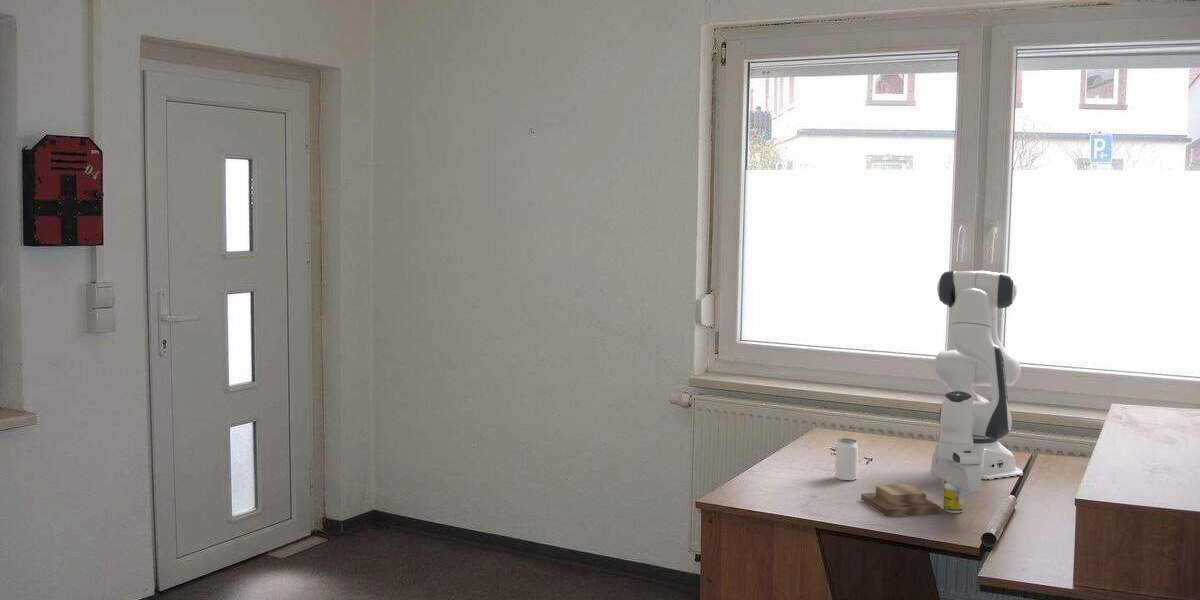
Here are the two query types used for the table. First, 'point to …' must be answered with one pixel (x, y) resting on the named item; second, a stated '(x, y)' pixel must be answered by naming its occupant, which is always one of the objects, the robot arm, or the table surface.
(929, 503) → the plinth
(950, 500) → the supplement bottle
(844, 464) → the can
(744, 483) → the table surface
